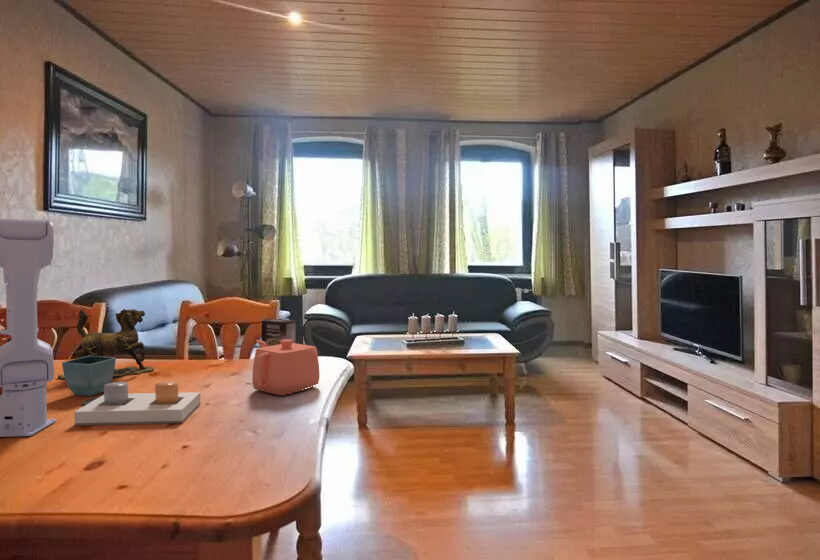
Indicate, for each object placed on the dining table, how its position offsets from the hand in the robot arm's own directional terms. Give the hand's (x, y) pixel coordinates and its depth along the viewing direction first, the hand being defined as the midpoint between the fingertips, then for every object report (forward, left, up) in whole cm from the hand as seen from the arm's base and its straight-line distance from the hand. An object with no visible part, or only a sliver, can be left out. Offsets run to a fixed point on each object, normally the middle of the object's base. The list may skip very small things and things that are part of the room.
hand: (23, 368), depth 120 cm
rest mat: (+4, -15, -9) cm, 18 cm away
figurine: (+34, -4, -10) cm, 35 cm away
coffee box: (+37, -54, -10) cm, 66 cm away
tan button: (-7, -35, -6) cm, 36 cm away
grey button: (-7, -23, -6) cm, 25 cm away
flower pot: (+12, -9, -10) cm, 18 cm away
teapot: (+15, -57, -10) cm, 60 cm away
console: (-7, -29, -9) cm, 31 cm away
